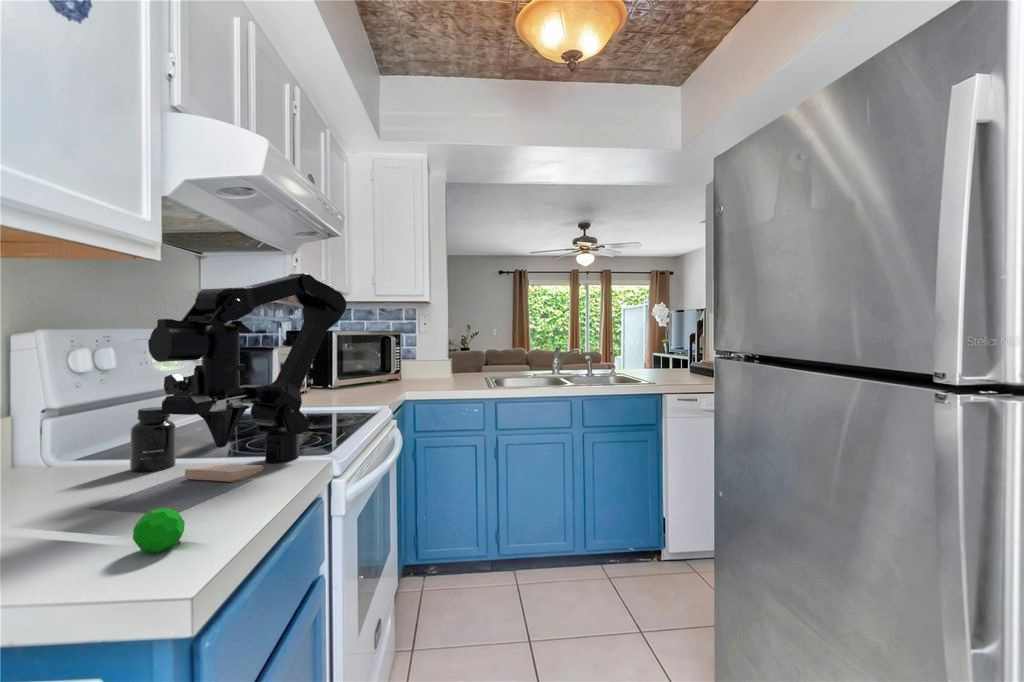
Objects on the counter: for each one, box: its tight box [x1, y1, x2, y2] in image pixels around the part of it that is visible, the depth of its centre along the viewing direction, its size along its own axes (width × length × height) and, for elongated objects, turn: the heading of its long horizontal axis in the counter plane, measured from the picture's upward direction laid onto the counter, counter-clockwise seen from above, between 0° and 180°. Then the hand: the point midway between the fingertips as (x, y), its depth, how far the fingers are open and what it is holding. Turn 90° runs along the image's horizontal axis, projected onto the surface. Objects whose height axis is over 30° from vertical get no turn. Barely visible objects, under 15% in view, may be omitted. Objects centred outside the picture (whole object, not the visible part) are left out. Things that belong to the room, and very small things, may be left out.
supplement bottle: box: [129, 406, 177, 474], centre depth 90 cm, size 7×7×12 cm
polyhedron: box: [132, 508, 185, 553], centre depth 57 cm, size 5×5×5 cm
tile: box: [184, 462, 264, 482], centre depth 85 cm, size 2×9×8 cm
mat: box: [88, 475, 254, 514], centre depth 75 cm, size 16×14×1 cm
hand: (221, 447), depth 84 cm, fingers closed
